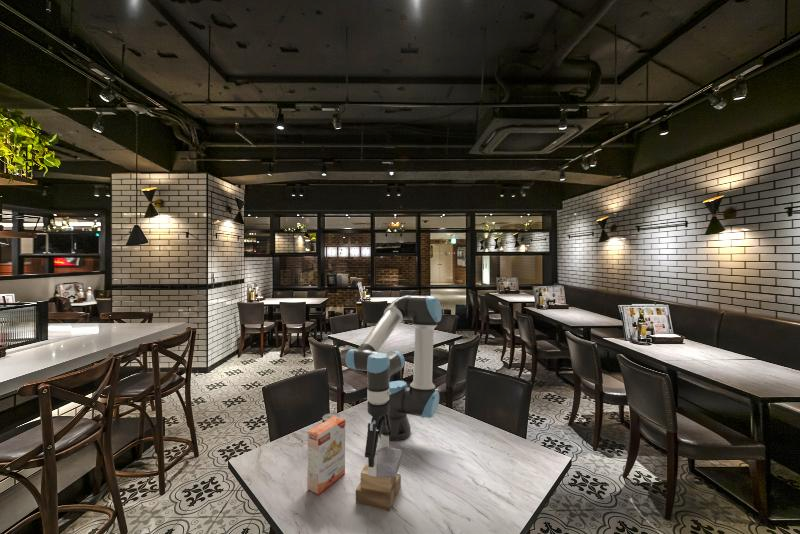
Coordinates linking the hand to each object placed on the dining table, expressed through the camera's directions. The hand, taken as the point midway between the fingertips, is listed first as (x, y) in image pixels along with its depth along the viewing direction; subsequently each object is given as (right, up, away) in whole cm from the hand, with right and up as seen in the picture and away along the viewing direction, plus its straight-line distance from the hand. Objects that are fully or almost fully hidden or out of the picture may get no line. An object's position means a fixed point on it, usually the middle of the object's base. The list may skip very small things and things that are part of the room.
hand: (379, 463), depth 111 cm
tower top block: (0, -7, +1) cm, 7 cm away
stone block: (+2, -1, -1) cm, 2 cm away
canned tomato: (-24, -11, +35) cm, 44 cm away
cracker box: (-19, -12, +8) cm, 24 cm away
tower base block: (0, -12, +1) cm, 12 cm away
